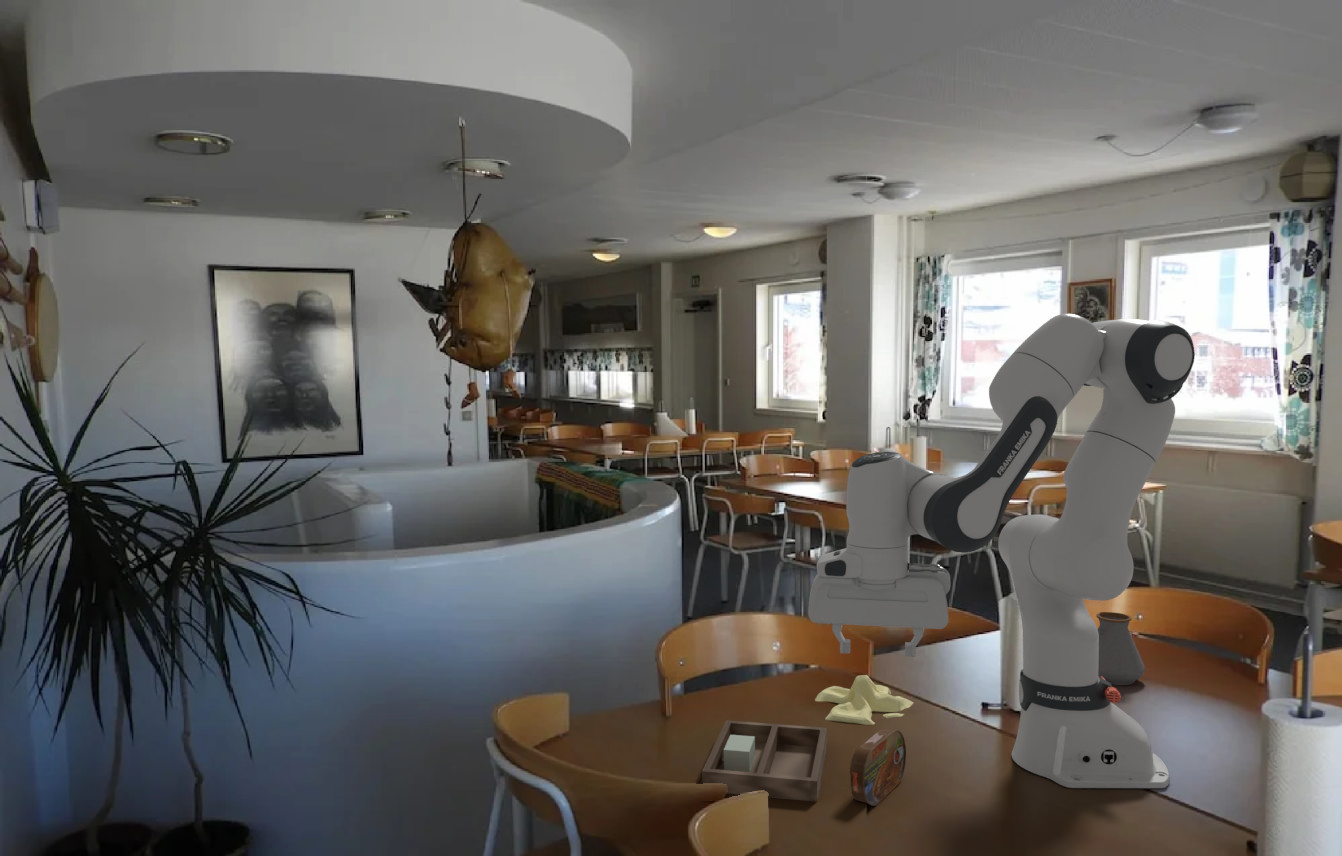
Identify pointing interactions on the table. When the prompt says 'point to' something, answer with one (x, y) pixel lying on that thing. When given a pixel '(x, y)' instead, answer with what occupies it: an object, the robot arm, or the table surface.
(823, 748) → the caddy
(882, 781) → the tin
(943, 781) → the table surface
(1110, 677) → the coffee pot
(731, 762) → the sage block
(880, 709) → the cloth
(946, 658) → the table surface
